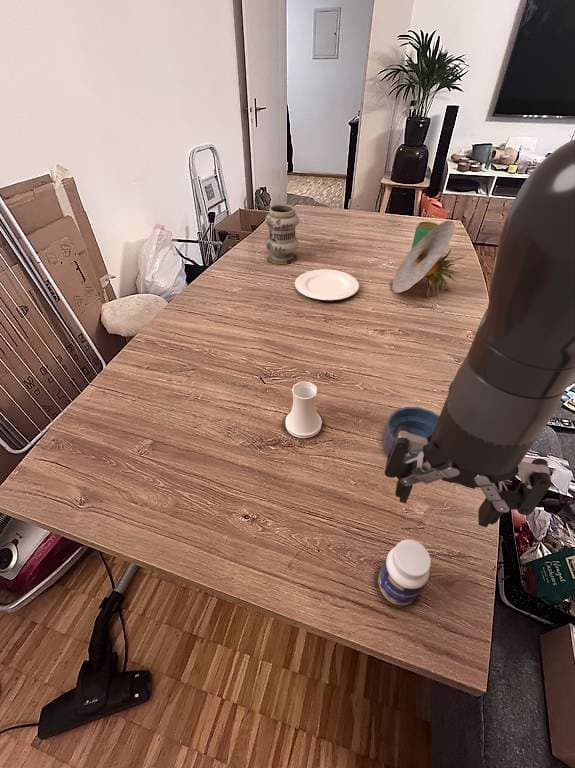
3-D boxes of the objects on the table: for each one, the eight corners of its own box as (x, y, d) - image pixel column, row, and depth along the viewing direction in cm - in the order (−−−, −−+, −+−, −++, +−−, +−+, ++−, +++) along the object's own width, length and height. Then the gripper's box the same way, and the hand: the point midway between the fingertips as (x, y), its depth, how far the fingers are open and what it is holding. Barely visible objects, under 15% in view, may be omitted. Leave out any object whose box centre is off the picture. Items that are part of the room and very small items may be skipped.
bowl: (456, 447, 74) (464, 430, 71) (423, 483, 68) (430, 466, 65) (405, 414, 81) (410, 398, 77) (370, 444, 75) (374, 428, 71)
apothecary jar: (280, 268, 133) (279, 216, 121) (259, 257, 140) (256, 207, 128) (305, 259, 139) (306, 208, 127) (284, 249, 146) (284, 200, 134)
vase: (312, 443, 75) (314, 408, 68) (279, 430, 78) (278, 395, 71) (326, 418, 80) (330, 383, 73) (295, 407, 83) (295, 372, 76)
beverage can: (428, 253, 143) (436, 220, 135) (434, 262, 137) (443, 229, 129) (407, 253, 143) (414, 221, 135) (412, 262, 137) (420, 229, 129)
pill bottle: (376, 600, 54) (388, 573, 47) (378, 561, 58) (390, 530, 51) (417, 611, 53) (436, 584, 46) (417, 570, 57) (434, 540, 50)
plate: (281, 289, 122) (281, 284, 121) (321, 268, 133) (321, 263, 132) (332, 312, 112) (333, 306, 110) (371, 287, 123) (371, 282, 122)
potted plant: (420, 333, 116) (497, 279, 102) (383, 293, 111) (459, 231, 98) (415, 301, 136) (479, 253, 122) (383, 266, 131) (446, 212, 118)
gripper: (403, 418, 31) (373, 517, 42) (602, 466, 27) (513, 560, 38) (412, 364, 36) (383, 464, 47) (580, 398, 32) (507, 498, 43)
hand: (441, 507), depth 43 cm, fingers open, 8 cm apart
